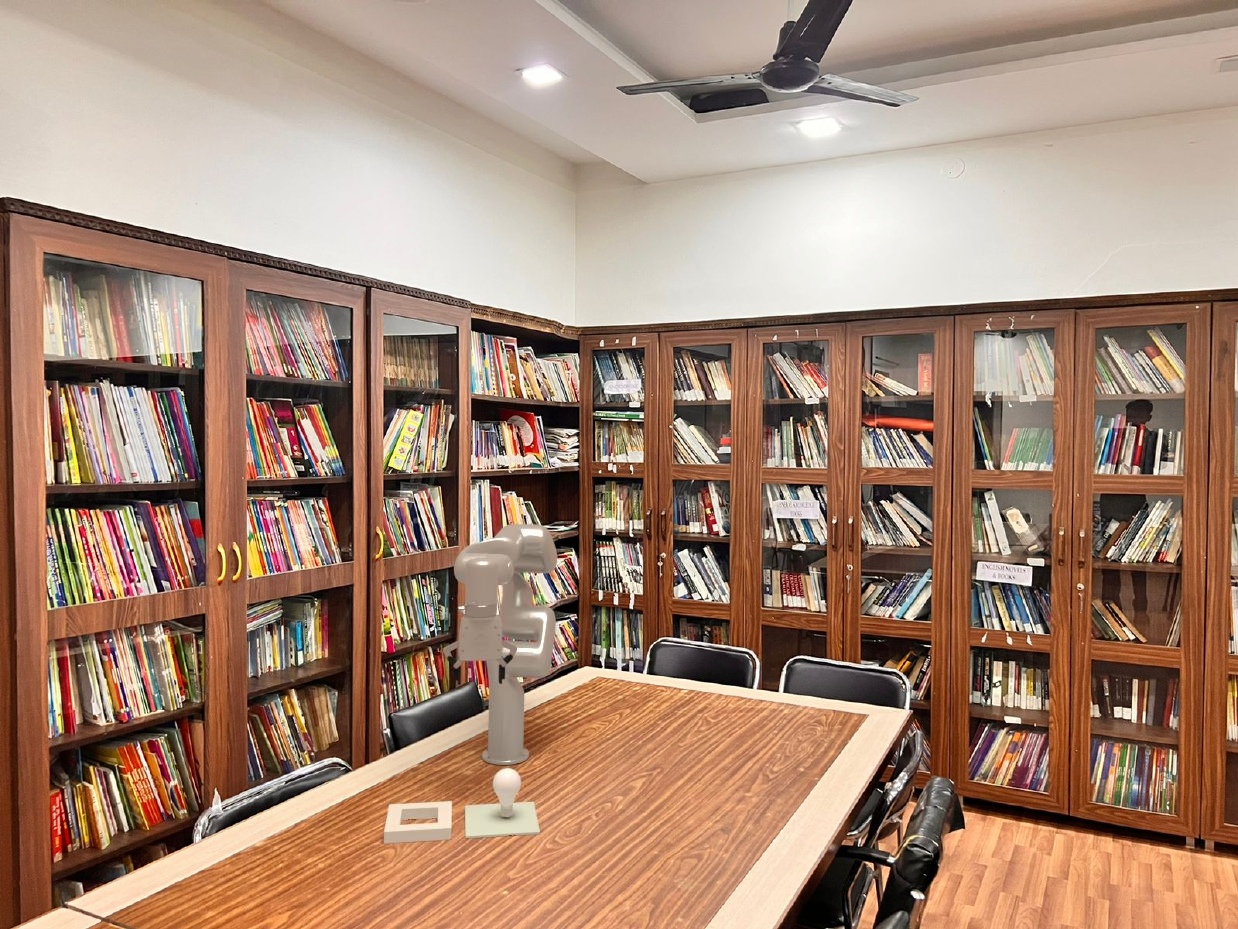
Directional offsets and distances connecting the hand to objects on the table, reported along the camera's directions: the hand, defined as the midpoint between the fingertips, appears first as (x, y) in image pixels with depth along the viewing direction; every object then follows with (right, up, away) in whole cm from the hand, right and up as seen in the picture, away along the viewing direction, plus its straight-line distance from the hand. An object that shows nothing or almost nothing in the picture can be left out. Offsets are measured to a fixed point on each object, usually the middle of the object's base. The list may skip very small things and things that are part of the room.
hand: (479, 683), depth 204 cm
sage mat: (+6, -29, -9) cm, 31 cm away
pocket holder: (-11, -28, -13) cm, 33 cm away
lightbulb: (+7, -28, -9) cm, 31 cm away
